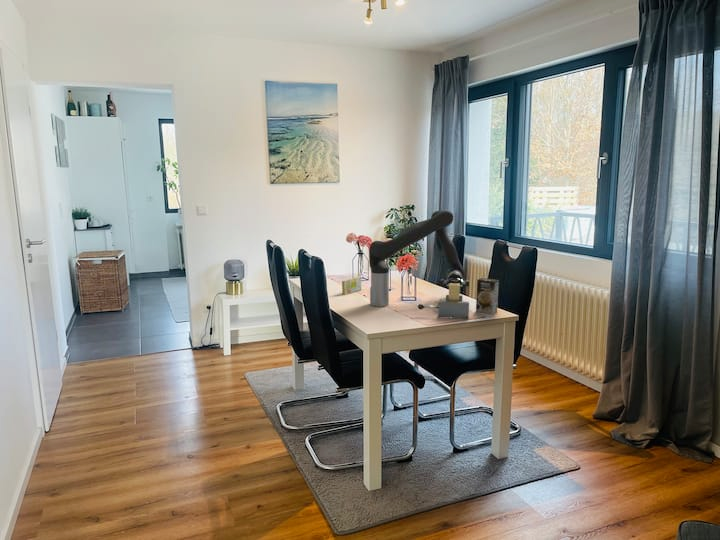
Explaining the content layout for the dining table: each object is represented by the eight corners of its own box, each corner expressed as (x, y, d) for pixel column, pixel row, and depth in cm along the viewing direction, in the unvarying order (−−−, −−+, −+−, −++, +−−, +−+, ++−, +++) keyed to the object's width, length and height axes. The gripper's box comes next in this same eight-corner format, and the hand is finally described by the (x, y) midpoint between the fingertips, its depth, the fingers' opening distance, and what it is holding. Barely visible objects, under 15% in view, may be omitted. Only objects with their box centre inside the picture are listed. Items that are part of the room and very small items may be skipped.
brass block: (448, 315, 257) (449, 285, 255) (448, 313, 262) (449, 283, 260) (458, 316, 257) (459, 285, 254) (458, 313, 262) (459, 283, 259)
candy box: (358, 290, 317) (358, 276, 316) (361, 290, 316) (361, 276, 315) (341, 295, 304) (341, 280, 303) (344, 295, 303) (344, 281, 302)
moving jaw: (445, 311, 266) (445, 296, 264) (445, 309, 270) (446, 294, 268) (461, 312, 264) (462, 297, 263) (461, 310, 268) (462, 295, 267)
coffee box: (475, 311, 266) (476, 279, 263) (480, 309, 271) (481, 277, 268) (493, 314, 261) (494, 281, 258) (497, 311, 266) (499, 279, 263)
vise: (417, 316, 256) (417, 301, 255) (419, 309, 271) (419, 294, 269) (468, 318, 252) (469, 303, 251) (468, 311, 266) (468, 296, 265)
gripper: (441, 271, 282) (440, 277, 266) (469, 272, 279) (469, 278, 263) (441, 285, 283) (439, 292, 267) (468, 286, 280) (468, 293, 265)
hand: (454, 285), depth 265 cm, fingers open, 8 cm apart
